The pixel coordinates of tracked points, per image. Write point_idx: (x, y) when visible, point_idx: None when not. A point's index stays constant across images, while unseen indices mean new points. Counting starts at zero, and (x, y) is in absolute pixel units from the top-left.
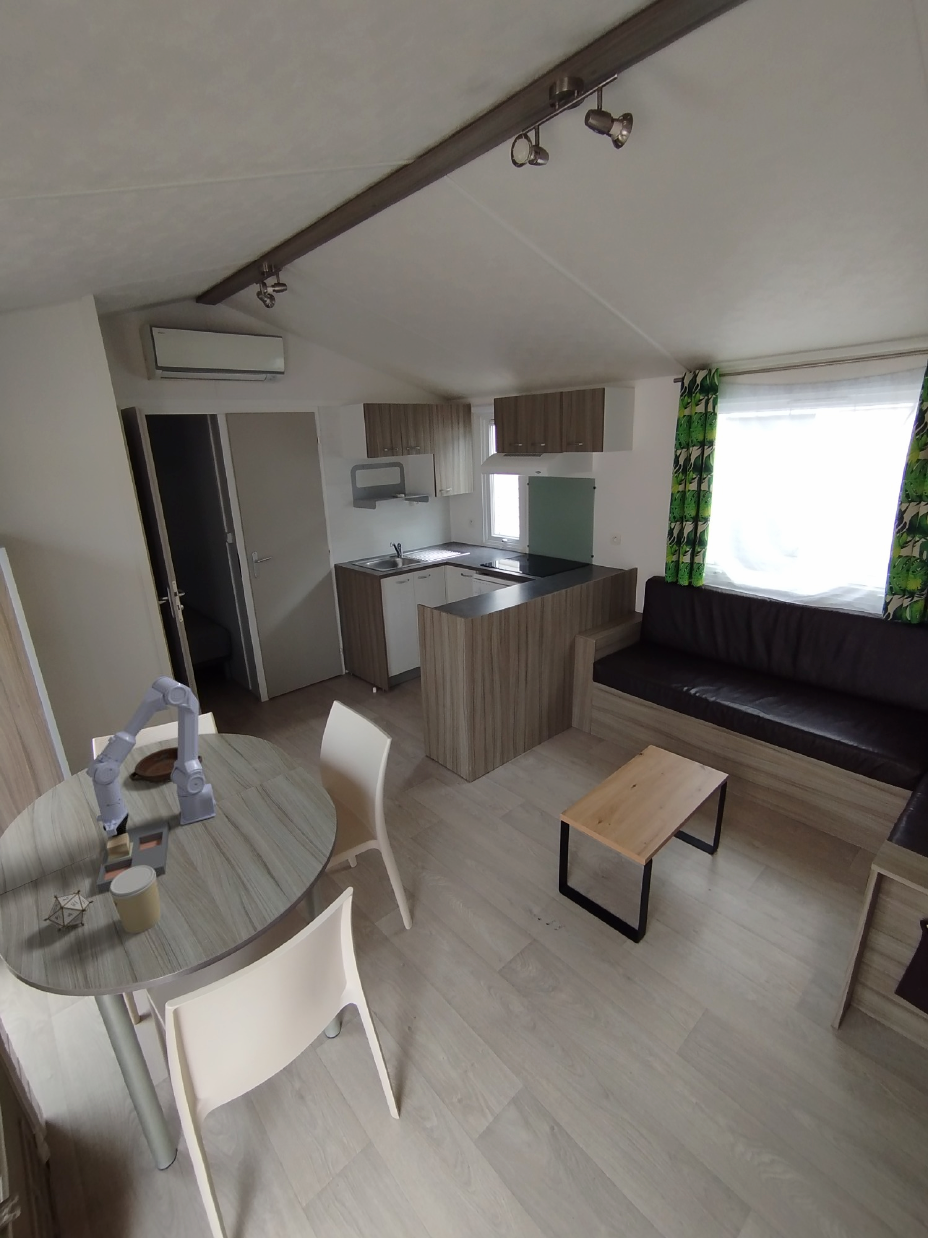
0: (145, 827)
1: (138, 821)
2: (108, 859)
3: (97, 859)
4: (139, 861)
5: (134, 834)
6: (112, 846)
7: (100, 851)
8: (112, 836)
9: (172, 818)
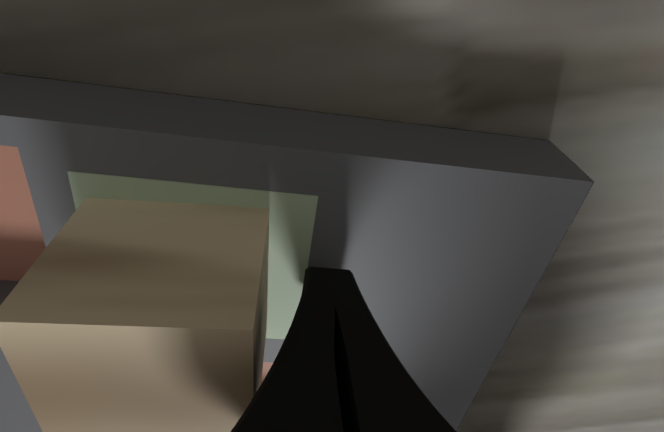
0: (440, 395)
1: (639, 302)
2: (118, 184)
3: (347, 27)
4: (6, 369)
5: (405, 345)
6: (19, 369)
7: (467, 55)
8: (279, 357)
9: (489, 426)
